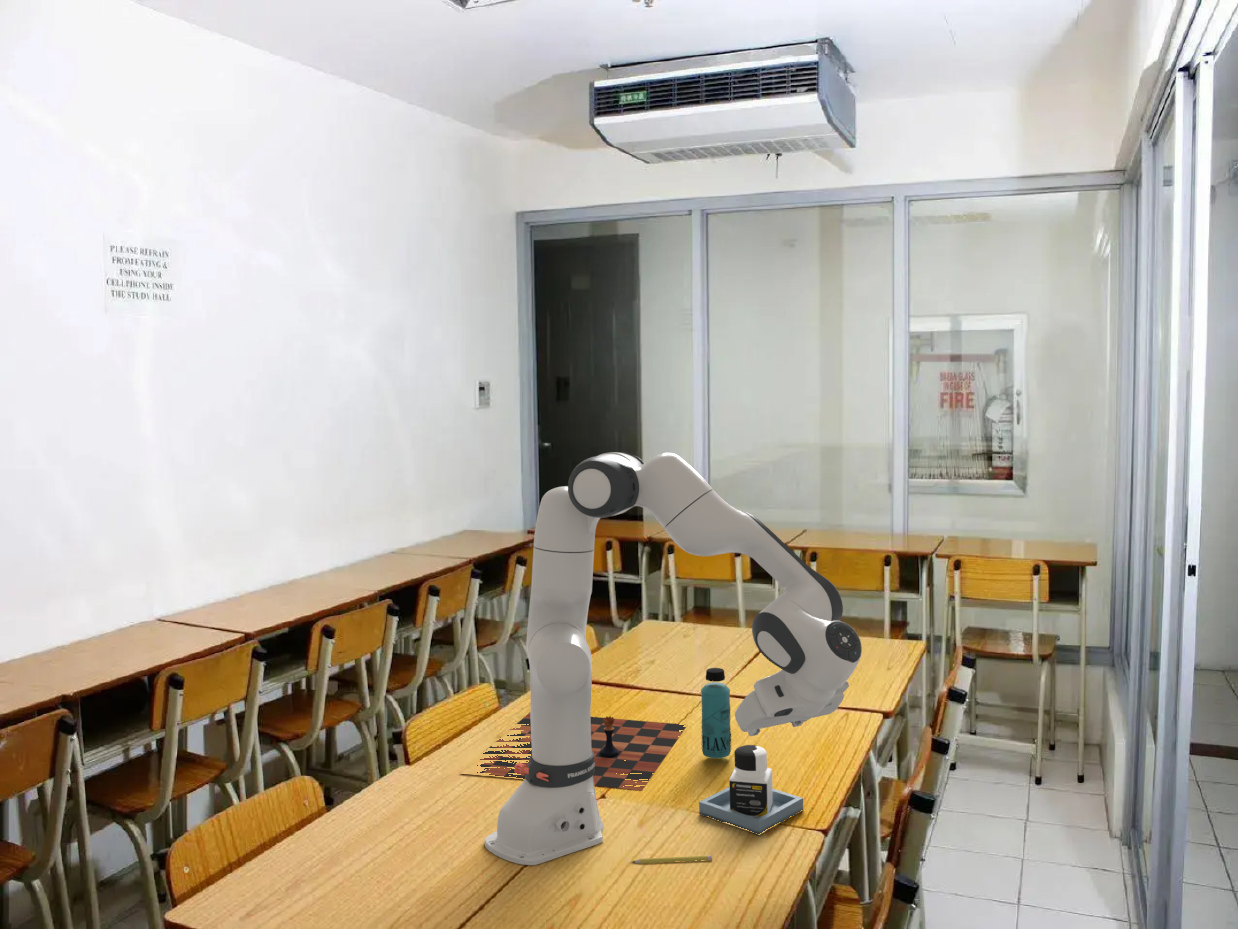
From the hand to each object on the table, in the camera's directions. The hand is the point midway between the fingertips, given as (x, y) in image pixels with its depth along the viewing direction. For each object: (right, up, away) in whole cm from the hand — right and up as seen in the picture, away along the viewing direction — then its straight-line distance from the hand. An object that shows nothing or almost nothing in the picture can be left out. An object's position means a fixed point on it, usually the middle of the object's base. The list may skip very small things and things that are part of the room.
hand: (773, 727), depth 191 cm
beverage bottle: (-7, -16, +36) cm, 40 cm away
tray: (-3, -18, +9) cm, 20 cm away
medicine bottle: (-3, -18, +9) cm, 20 cm away
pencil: (-19, -21, -10) cm, 30 cm away
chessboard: (-37, -17, +46) cm, 61 cm away
